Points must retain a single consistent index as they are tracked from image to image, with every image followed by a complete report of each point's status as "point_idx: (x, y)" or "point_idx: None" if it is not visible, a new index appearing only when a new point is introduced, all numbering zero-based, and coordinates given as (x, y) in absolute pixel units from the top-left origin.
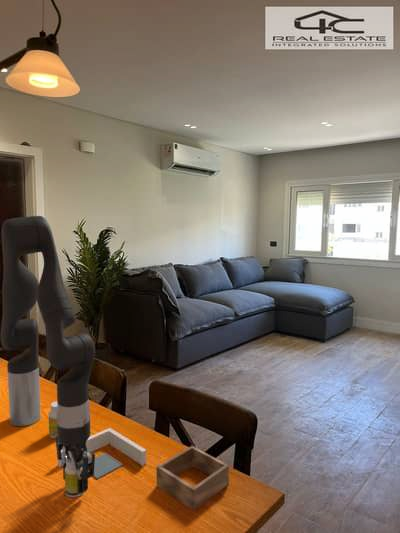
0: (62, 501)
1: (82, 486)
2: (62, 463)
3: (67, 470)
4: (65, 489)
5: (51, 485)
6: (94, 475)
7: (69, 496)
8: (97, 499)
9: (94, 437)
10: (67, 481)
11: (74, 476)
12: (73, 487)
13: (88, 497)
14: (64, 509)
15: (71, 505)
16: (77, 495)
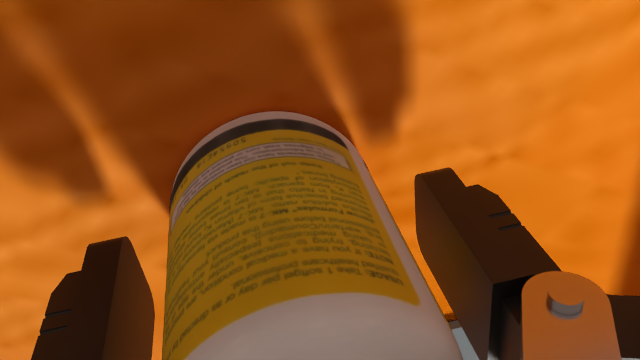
0: (192, 46)
1: (44, 332)
2: (552, 304)
3: (285, 347)
4: (289, 133)
5: (521, 30)
6: None
7: (214, 130)
8: (41, 310)
9: None
10: (248, 218)
11: (171, 350)
12: (179, 226)
13: None
14: (35, 22)
15: (70, 105)
16: (171, 197)
